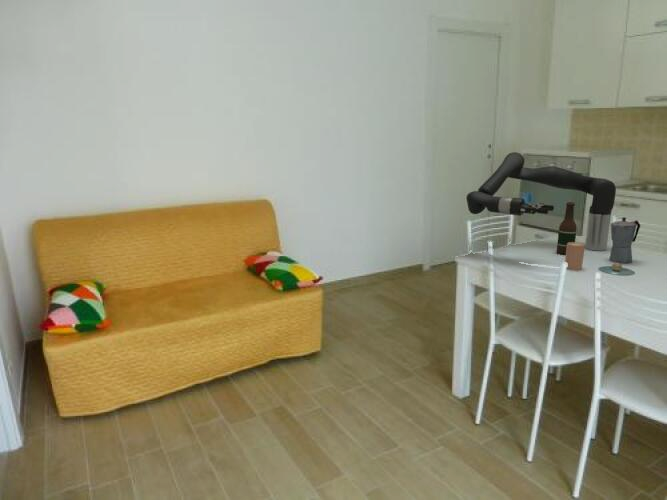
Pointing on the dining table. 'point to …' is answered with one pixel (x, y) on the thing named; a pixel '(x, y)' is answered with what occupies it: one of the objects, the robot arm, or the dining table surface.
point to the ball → (616, 266)
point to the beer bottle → (566, 230)
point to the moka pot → (623, 240)
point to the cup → (574, 255)
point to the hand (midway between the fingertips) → (550, 209)
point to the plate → (621, 272)
